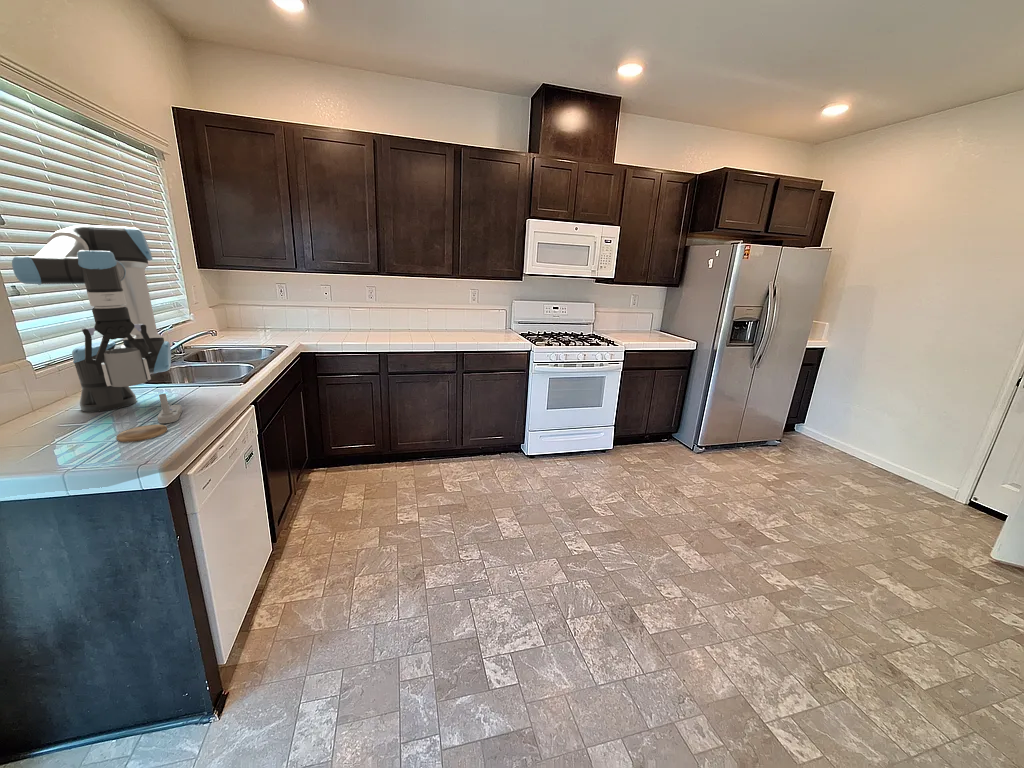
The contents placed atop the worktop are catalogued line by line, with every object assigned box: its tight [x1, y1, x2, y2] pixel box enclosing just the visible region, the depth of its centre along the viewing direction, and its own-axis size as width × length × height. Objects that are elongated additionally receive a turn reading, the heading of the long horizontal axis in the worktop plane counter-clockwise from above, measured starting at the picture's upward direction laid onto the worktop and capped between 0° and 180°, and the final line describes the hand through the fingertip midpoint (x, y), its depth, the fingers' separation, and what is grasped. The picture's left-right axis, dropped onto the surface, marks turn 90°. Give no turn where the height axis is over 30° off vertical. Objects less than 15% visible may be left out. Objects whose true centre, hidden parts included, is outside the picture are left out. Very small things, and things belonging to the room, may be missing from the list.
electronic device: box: [157, 393, 183, 425], centre depth 142 cm, size 5×10×15 cm
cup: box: [103, 348, 148, 387], centre depth 123 cm, size 8×8×10 cm
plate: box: [116, 423, 168, 443], centre depth 129 cm, size 12×12×1 cm
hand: (129, 381), depth 124 cm, fingers closed on cup, 8 cm apart
